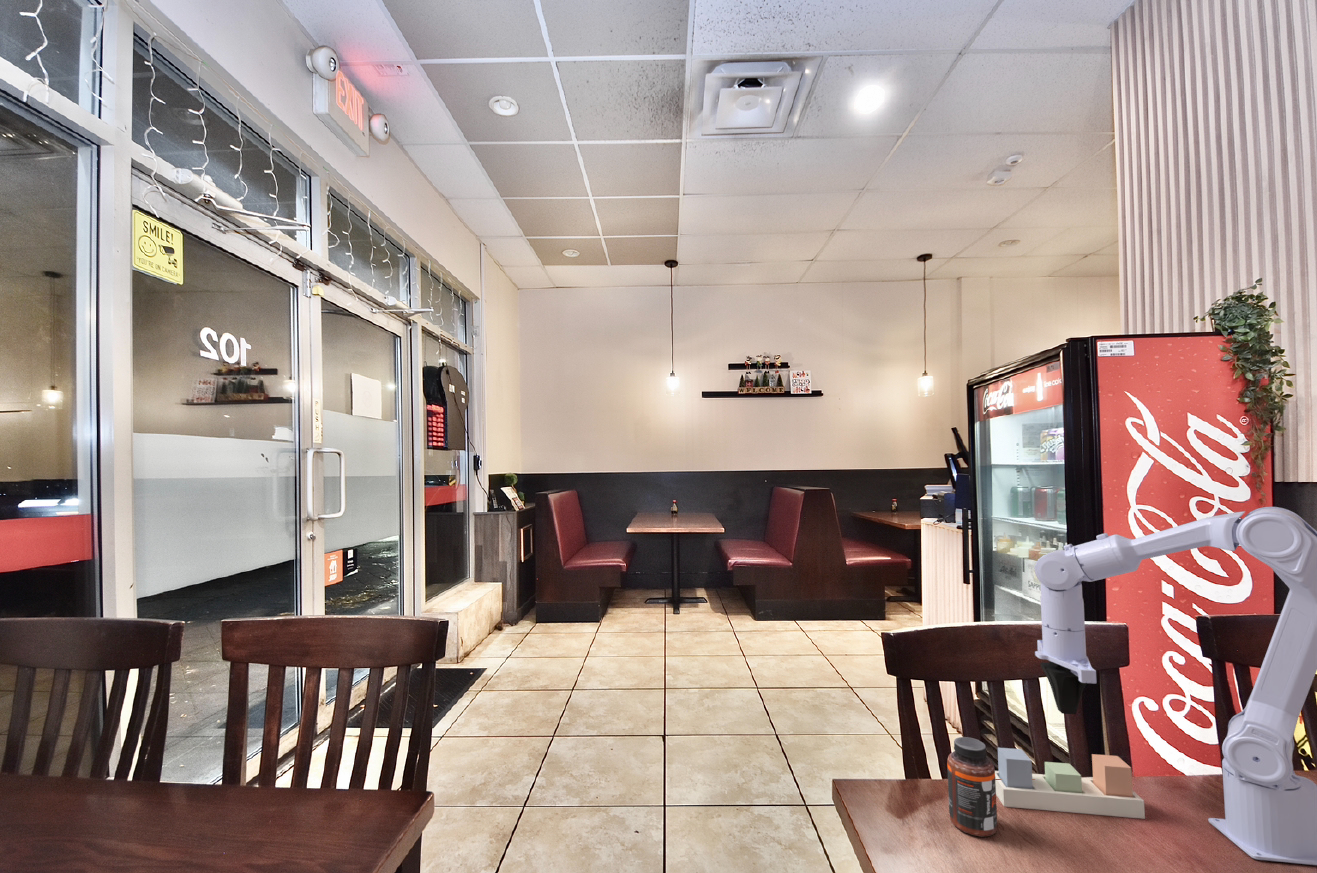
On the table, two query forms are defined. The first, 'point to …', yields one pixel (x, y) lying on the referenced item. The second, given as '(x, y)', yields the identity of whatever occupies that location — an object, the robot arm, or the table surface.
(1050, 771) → the button green
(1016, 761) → the button slate
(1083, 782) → the button bar
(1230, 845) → the table surface
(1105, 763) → the button terracotta
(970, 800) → the supplement bottle
